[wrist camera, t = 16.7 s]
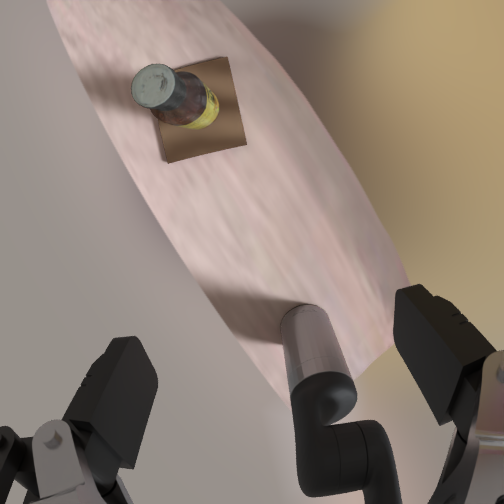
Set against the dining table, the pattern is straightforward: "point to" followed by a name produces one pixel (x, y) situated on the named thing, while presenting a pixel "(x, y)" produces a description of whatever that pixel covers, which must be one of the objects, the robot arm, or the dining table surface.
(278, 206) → the dining table surface
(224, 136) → the walnut board
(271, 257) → the dining table surface
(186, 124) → the sauce bottle
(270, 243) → the dining table surface
